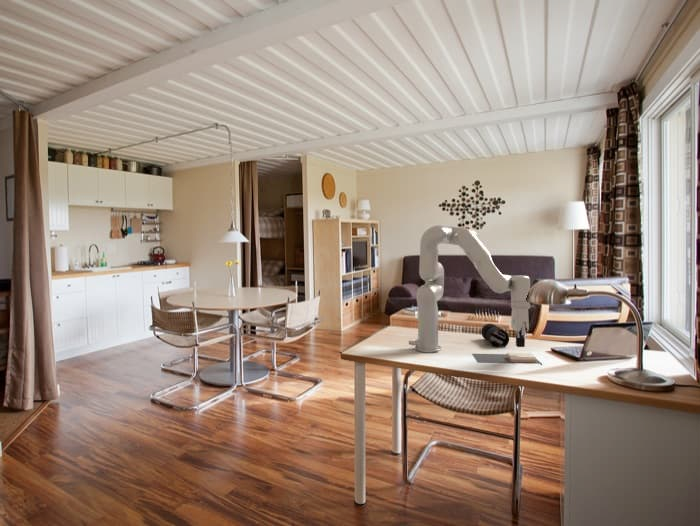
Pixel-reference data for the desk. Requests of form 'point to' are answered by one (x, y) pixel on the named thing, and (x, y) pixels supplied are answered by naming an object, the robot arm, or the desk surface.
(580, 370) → the desk surface
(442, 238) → the robot arm
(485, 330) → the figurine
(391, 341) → the desk surface
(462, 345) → the desk surface
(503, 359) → the mat
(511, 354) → the block
